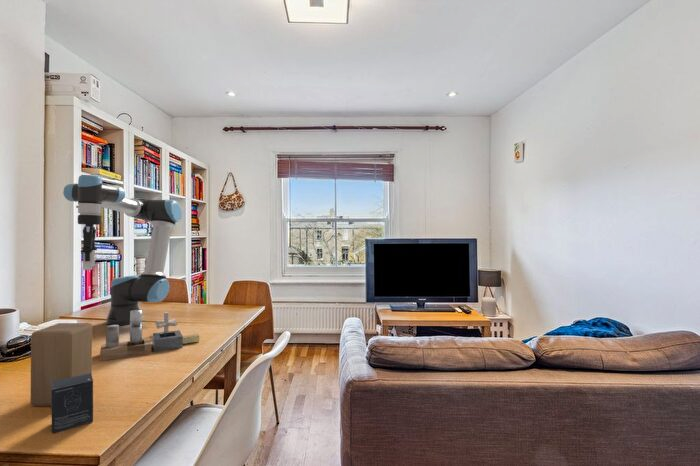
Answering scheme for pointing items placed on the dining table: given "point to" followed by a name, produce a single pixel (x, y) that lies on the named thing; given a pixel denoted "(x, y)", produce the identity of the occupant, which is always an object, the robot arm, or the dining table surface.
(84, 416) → the box
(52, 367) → the block
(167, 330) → the pipe connector
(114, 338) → the rack
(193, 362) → the dining table surface
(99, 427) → the dining table surface
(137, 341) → the grey metal bar
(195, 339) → the olive rectangular bar
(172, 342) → the socket
